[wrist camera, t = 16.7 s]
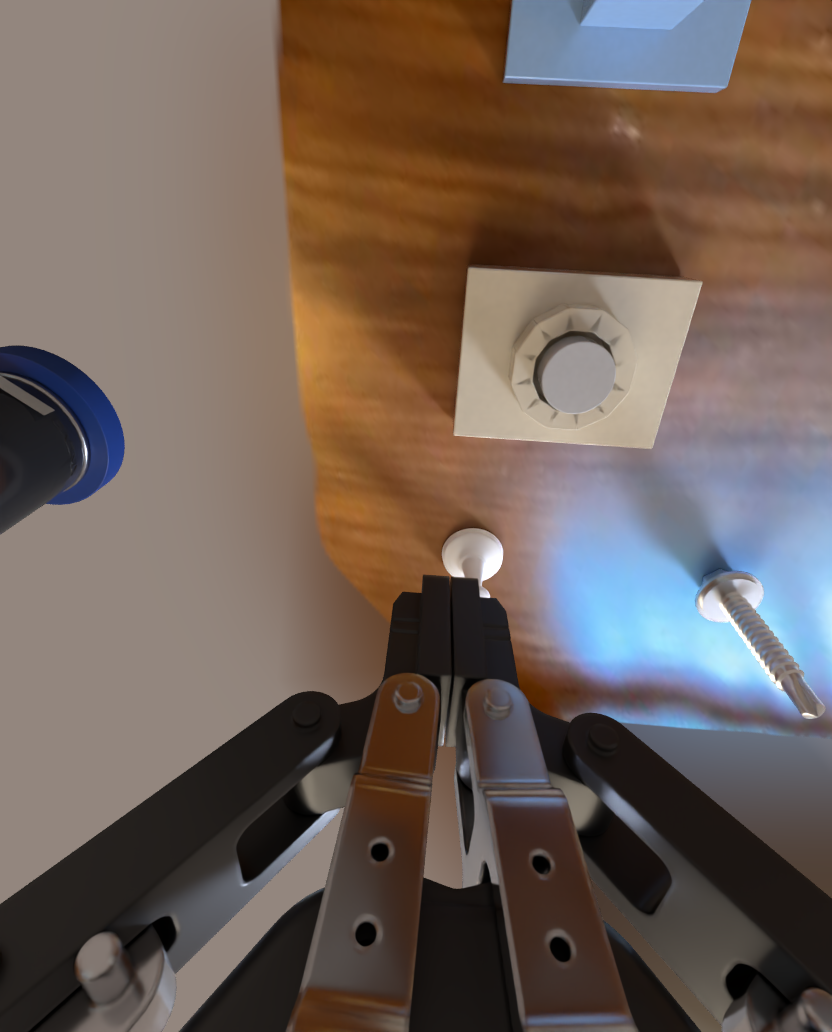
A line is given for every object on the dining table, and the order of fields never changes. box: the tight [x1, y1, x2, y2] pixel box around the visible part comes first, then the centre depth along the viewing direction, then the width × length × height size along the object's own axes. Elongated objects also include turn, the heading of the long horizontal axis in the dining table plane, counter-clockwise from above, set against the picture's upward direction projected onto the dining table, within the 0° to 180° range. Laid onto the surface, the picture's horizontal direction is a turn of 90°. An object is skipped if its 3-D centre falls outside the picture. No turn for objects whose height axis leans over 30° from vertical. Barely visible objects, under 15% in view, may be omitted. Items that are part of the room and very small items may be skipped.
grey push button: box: [537, 336, 616, 414], centre depth 29 cm, size 4×4×2 cm
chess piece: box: [442, 528, 503, 598], centre depth 37 cm, size 5×5×10 cm
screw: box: [695, 569, 825, 719], centre depth 35 cm, size 13×5×5 cm
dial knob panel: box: [453, 264, 702, 449], centre depth 31 cm, size 13×10×4 cm
